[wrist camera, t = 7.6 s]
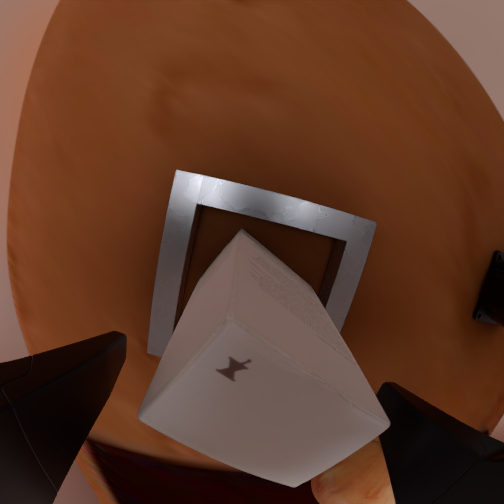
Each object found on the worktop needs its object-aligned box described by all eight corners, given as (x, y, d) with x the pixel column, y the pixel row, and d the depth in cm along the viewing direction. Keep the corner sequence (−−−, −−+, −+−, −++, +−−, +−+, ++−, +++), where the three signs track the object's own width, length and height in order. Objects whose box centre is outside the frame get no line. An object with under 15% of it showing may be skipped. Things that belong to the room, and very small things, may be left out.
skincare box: (198, 278, 17) (126, 416, 6) (241, 226, 17) (227, 308, 5) (270, 333, 18) (294, 492, 7) (314, 288, 18) (399, 423, 6)
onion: (412, 391, 20) (463, 463, 10) (380, 454, 22) (408, 519, 12) (314, 404, 20) (342, 505, 10) (296, 467, 22) (308, 544, 12)
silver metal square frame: (363, 218, 17) (377, 222, 15) (310, 370, 19) (315, 387, 17) (184, 172, 16) (176, 169, 14) (155, 338, 18) (147, 353, 16)
